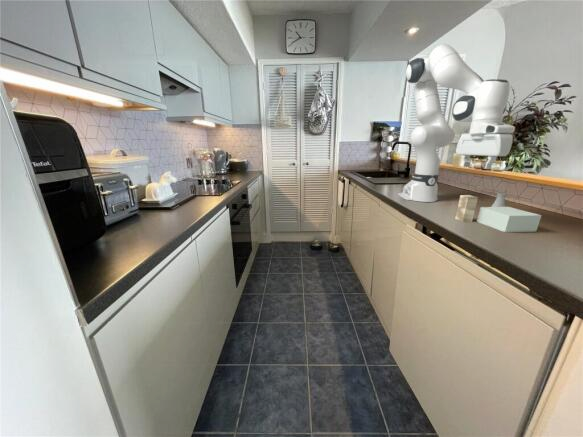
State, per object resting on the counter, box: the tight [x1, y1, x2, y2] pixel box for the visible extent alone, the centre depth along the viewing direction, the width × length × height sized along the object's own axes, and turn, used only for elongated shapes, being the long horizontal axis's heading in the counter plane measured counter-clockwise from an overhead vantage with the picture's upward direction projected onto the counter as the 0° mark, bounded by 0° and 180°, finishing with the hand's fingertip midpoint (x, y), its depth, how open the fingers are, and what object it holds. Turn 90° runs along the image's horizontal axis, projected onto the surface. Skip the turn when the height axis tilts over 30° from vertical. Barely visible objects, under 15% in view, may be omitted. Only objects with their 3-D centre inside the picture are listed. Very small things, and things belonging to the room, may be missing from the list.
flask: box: [490, 192, 508, 207], centre depth 100 cm, size 7×7×10 cm
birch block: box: [454, 194, 479, 223], centre depth 94 cm, size 4×4×10 cm
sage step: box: [476, 206, 542, 233], centre depth 88 cm, size 12×12×6 cm
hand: (475, 167), depth 89 cm, fingers open, 8 cm apart
